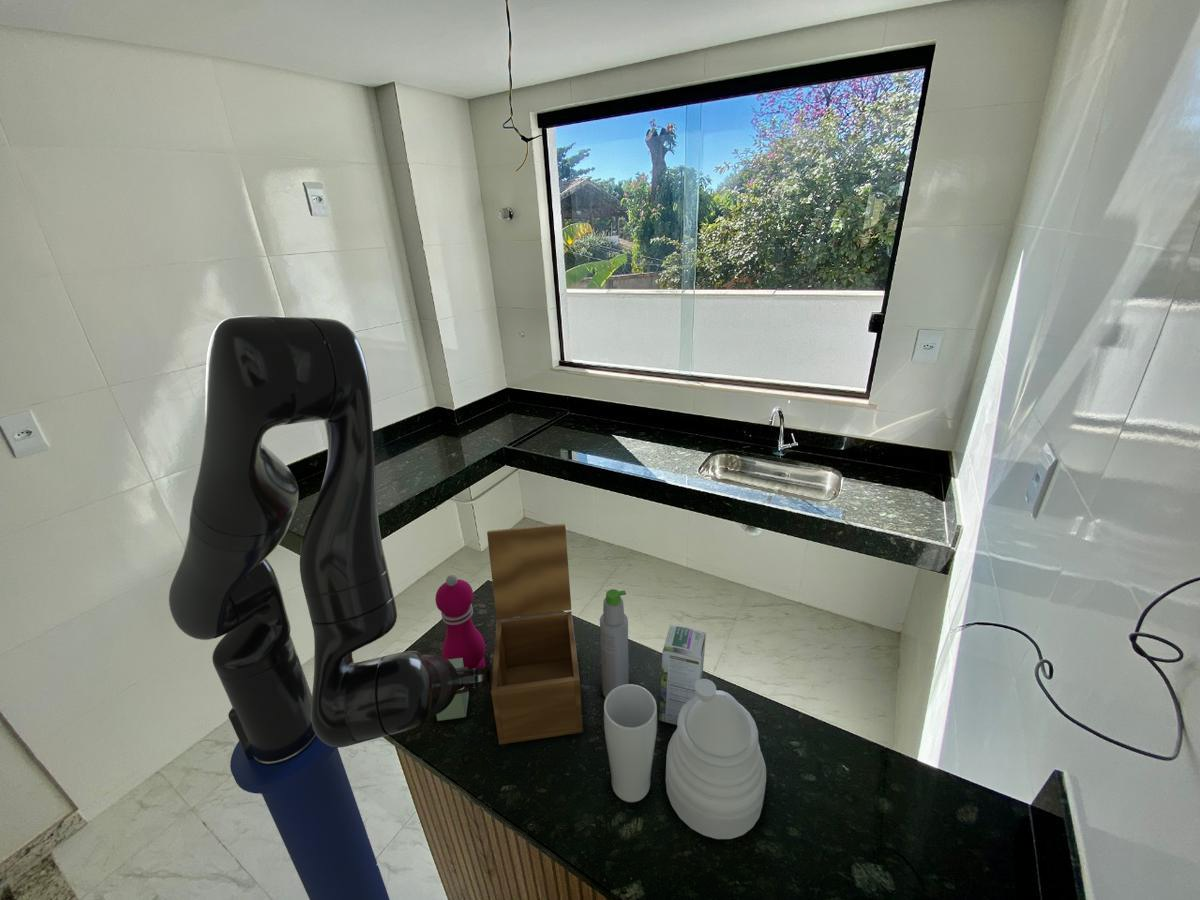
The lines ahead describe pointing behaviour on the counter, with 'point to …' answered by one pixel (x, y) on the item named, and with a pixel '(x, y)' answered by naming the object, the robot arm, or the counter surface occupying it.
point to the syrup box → (680, 670)
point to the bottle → (614, 642)
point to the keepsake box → (536, 678)
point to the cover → (529, 570)
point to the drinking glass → (630, 739)
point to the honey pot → (715, 765)
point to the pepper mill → (460, 623)
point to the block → (455, 700)
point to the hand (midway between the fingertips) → (448, 680)
